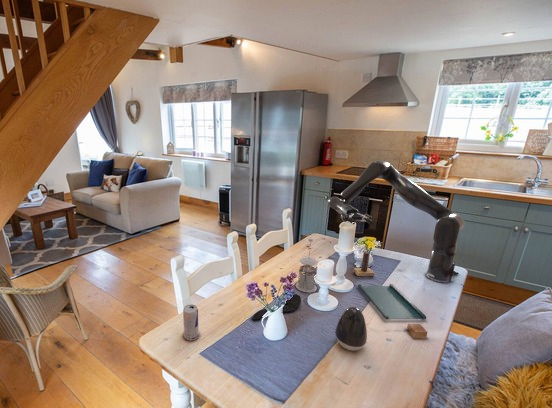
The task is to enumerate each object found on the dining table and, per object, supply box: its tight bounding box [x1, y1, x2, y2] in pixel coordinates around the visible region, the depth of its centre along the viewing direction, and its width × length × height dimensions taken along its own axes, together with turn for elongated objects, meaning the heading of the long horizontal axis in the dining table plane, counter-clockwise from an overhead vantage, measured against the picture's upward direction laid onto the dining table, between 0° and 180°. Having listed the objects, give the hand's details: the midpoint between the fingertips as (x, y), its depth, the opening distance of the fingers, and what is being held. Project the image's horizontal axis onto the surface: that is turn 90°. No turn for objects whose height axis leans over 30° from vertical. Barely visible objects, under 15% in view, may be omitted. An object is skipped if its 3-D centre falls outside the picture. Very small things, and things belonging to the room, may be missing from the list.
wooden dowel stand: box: [353, 250, 375, 278], centre depth 154 cm, size 5×8×13 cm, turn 90°
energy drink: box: [182, 304, 199, 342], centre depth 113 cm, size 5×5×12 cm
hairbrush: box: [251, 292, 302, 322], centre depth 129 cm, size 8×4×25 cm
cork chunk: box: [406, 323, 428, 340], centre depth 114 cm, size 4×4×3 cm
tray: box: [357, 283, 427, 320], centre depth 133 cm, size 24×16×2 cm, turn 0°
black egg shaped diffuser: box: [334, 306, 368, 352], centre depth 108 cm, size 10×10×15 cm
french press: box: [295, 237, 319, 294], centre depth 142 cm, size 10×12×25 cm
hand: (362, 222), depth 156 cm, fingers open, 8 cm apart
